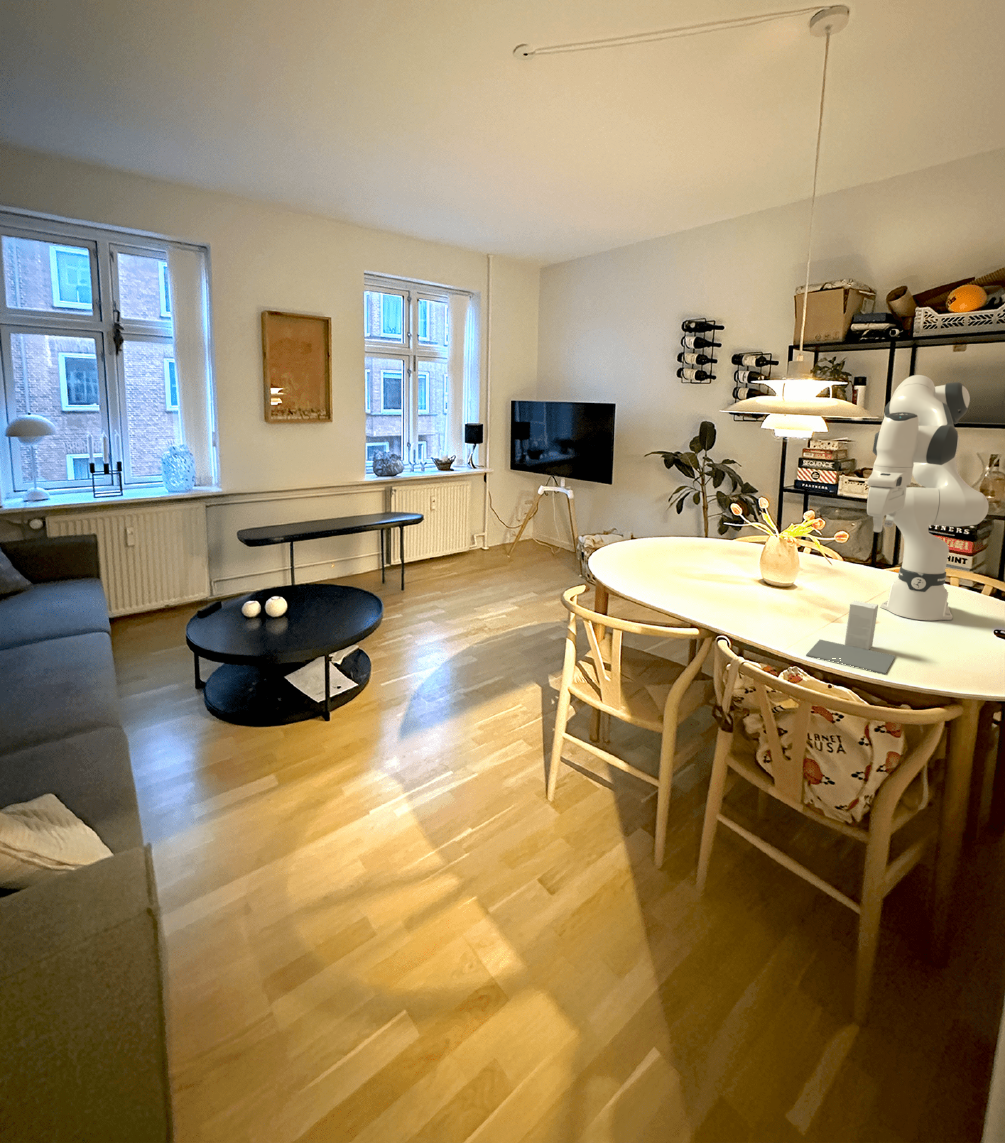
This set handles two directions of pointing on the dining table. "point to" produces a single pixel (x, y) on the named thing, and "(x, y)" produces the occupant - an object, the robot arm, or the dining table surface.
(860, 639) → the skincare box
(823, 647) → the mat
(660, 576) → the dining table surface
